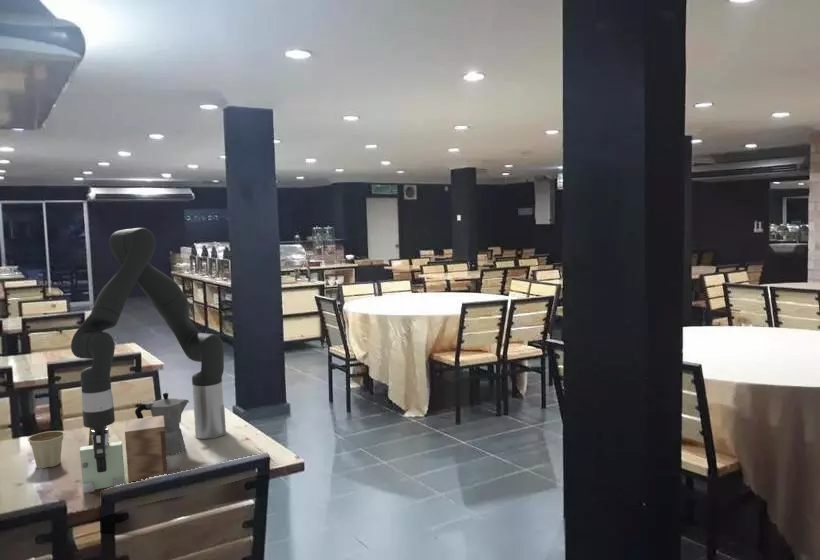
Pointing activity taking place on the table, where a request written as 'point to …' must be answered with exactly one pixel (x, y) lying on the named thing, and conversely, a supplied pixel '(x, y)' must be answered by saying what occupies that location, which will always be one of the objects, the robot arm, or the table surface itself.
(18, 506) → the table surface
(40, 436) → the flower pot
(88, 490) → the small rectangular blocks
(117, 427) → the table surface
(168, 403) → the coffeepot
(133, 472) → the brown wooden box
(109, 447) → the door panel
